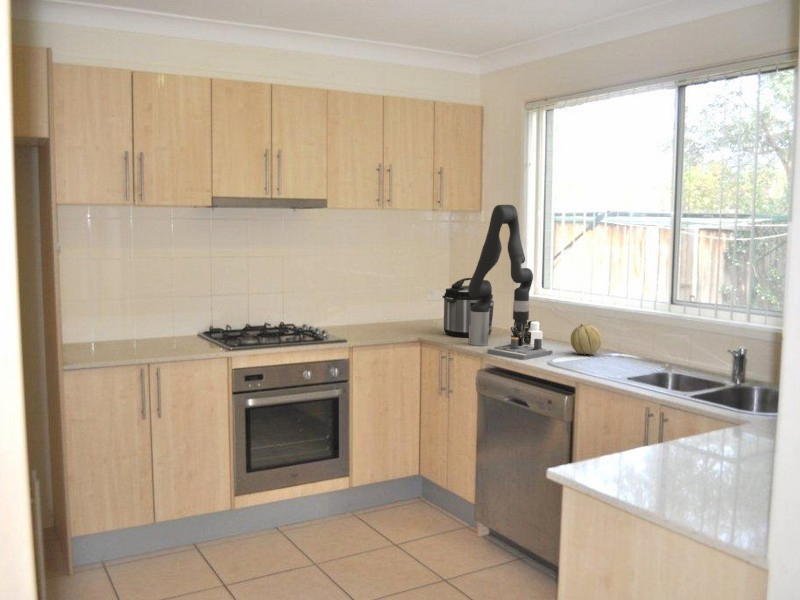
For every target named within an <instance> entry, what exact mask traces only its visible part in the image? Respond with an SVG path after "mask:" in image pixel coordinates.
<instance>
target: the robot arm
mask: <svg viewBox="0 0 800 600" xmlns="http://www.w3.org/2000/svg"><path fill="white" fill-rule="evenodd" d="M518 216H519V214H518V210H517V208H516V206H515V205H513V204H496V206H494V208H493V210H492V212H491V216H490V221H489V226H488V230H487V233H486V237H485V240H484V244H483V246H482V249H481V252H480V256H479V258H478V262H477V265H476V268H475V270H474V273H473V274H472V277H471V278H472V279H471V280H469V284H468V286H469V287H468V293H469V296H470V297H471V298H479V301H478V302H477V303H476V304H474V305H472V306H471V325H470V326H469V337H468V344H469V345H471V346H476V347H480V346H481V347H484V346H488V345H489V336H490V335H489V308H490V305H491V294H493V293H492V292H493V291H492V284H491V282H490V280H487V279H485V277H486V275H487V274H488V273H489V272H490V271H491V270H492V269H493V268H494V267H495V266H496V265H497V264H498V261H499V259H500V256H501V253H502V241H501V238H500V232H501V229H502V226H503V225H507V227H508V229H509V237H508V240H507V253H508V257H509V260H510V277H511V280H512V282H514V283H515V284H519V286H518V287H517V288H515V289H514V290H513V291H514V294H513V295H514V296H513V306H512V307H513V308H512V319H513V320H514V321H513V322H514V323H513V326H511V327H510V331H511V333H512V335H514V337H516V338H519V339H518V346H524V345H523V344H524V337H525V336H526V335H527V333H528V331H529V329H530V326H528V320H529V319H530V317H529V316H530V303H529V302H530V291H531V288H532V284H533V280H534V274H533V271H532V269H530V268H528V267H524V268H523V267H522V264H524V263H525V262H526V256H525V253H524V248H523V246H522V240H521V234H520V224H519V222H520V221H519V217H518ZM524 333H525V334H524Z"/></svg>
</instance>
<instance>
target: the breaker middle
mask: <svg viewBox="0 0 800 600" xmlns="http://www.w3.org/2000/svg"><path fill="white" fill-rule="evenodd" d="M518 339H519V338H516V337H512V338H511V337H510V344H511V348H510V349H513V350H516V349H519V348H518Z"/></svg>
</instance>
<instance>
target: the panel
mask: <svg viewBox="0 0 800 600" xmlns="http://www.w3.org/2000/svg"><path fill="white" fill-rule="evenodd" d="M510 344H511V343H509V344H503V345H497V346H496V345H495V346H494V347H493V348H488V349H487V352H486V353H487V354H489V355H496V356H500V355H501V356H500V357H505V356H506V358H511V359H516V358H517V360H522V359H524V360H523V361H526V360H530V359H531V358H532V359H537V358H542V357H547V356H546V355H548V356H552V355H553V350H551V349H546V348H542V347H541V348H542V349H539V350H534V351H533V348H534V346H532V345H522V346H518V348H519V349H516V350H513V349H510V348H511V346H510ZM551 354H552V355H551ZM541 356H542V357H541ZM525 359H526V360H525Z"/></svg>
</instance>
